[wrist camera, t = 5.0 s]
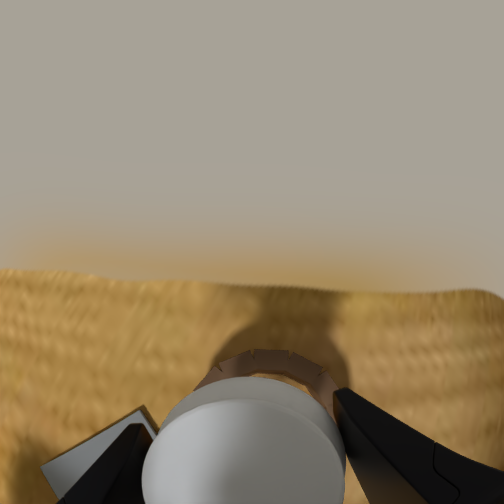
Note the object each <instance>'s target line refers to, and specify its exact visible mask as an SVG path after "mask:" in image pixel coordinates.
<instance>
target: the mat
mask: <svg viewBox="0 0 504 504" xmlns="http://www.w3.org/2000/svg"><path fill="white" fill-rule="evenodd" d="M130 423H143V424H144V425H145V426H146V428H147V430H148V432H149V434H150V435H151V437H152V439H153V441H154V439H155V438H156V436H157V433H156V432H155V430H154V429H153V427H152V426H151V424H150V423H149V421H148V420H147V418H146V417H145V415H144V414H143V412H142V410H138V411H137V412H135V413H134V414H132V415H130V416H129V417H127V418H125V419H124V420H122V421H121V422H119V423H117V424H116V425H114V426H112V427H111V428H109V429H107V430H105V431H104V432H102V433H100V434H99V435H97V436H95V437H93V438H92V439H90V440H88V441H87V442H85V443H83V444H81V445H79V446H78V447H76V448H74V449H72V450H71V451H69V452H67V453H65V454H63V455H61V456H60V457H58V458H56V459H54V460H52V461H50V462H48V463H47V464H45V465H43V466H41V467H40V468H41V470H42V472H43V474H44V475H45V477H46V479H47V481H48V482H49V484H50V486H51V488H52V489H53V491H54V493H55V494H56V496H57V497H58V499H59V500H60V499H61V498H62V497H64V495H65V493H66V492H67V491H68V490H69V489H70V488H71V487H72V486H73V485H74V484H75V483H76V482H77V481H78V479H79V478H80V477H81V476H82V475H83V474H84V473H85V472H86V471H87V470H88V469H89V468H90V466H91V465H92V464H93V463H94V462H95V461H96V460H97V459H98V458H99V457H100V455H101V454H102V453H103V452H104V451H105V450H106V449H107V448H108V447H109V446H110V444H111V443H112V442H113V441H114V440H115V439H116V438H117V437H118V436H119V435H120V433H121V432H122V431H123V430H124V429H125V428H126V427H127V426H128V425H129V424H130Z"/></svg>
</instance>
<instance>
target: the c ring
mask: <svg viewBox="0 0 504 504" xmlns="http://www.w3.org/2000/svg"><path fill="white" fill-rule="evenodd" d="M288 352H289V351H284V350H260V349H255V351H254V358H253V356H252V354H251V351H250V350H249V351H246V352H244V353H242V354H239V355H237V356H235V357H232V358H230V359H227V360H225V361H223V362H220V363H219V365H220V367H221V370H222V371H221V370H219V369H218V368H217V367H216V366H214V367H213V368H212V370H211V371H210V372H209V373H208V374H207V375H206V377H205V378H204V379H203V380H202V381H201V382H200V383H199V385H198V386H197V387H196V388H195V389H194V390H193V391H196V390H197V389H199V388H201V387H203V386H206V385H208V384H211V383H213V382H217V381H220V380H224V379H229V378H235V377H249V376H251V375H254V374H256V373H265V374H284V375H285V376H287V377H289V378H291V379H293V380H295V381H297V382H298V383H300V384H302V385H304V386H306V387H307V389H308V390H309V392H310V393H311V395H312V396H313V398H314V399H315V400H316V401H317V402H318V403H320V404H321V405H322V406H323V407H324V408H325V409H326V410H327V412H328V413H329V414H330V416H331V417H332V419H333V420H334V422H335V423H336V421H335V418H334V414H333V392H334V391H335V390H338V389H339V388H338V387H337V385H336V384H335V382H334V381H333V380H332V378H331V377H330V375H329V374H328V372H327V371H325V372H323V373H321V374H320V375H319V373H320V371H321V370H322V368H323V367H321V366H319V365H317V364H315V363H313V362H311V361H309V360H307V359H306V358H304V357H302V356H300V355H298V354H296V353H294V352H293V353H292V355H291V357H290V358H289V360H288ZM336 425H337V424H336Z"/></svg>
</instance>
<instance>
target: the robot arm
mask: <svg viewBox="0 0 504 504" xmlns="http://www.w3.org/2000/svg"><path fill="white" fill-rule="evenodd" d="M333 414H334V418H335V421H336V424H337V427H338V429H339V431H340V434H341V436H342V439H343V443H344V446H345V452H346V455H347V457H348V460H349V462H350V464H351V466H352V468H353V470H354V473H355V475H356V477H357V479H358V481H359V483H360V485H361V487H362V489H363V491H364V493H365V495H366V497H367V499H368V501H369V503H370V504H504V471H501V470H498V469H495V468H492V467H490V466H487V465H484V464H481V463H479V462H476V461H474V460H471V459H469V458H467V457H464V456H462V455H460V454H458V453H456V452H454V451H452V450H450V449H448V448H446V447H444V446H443V445H441V444H439V443H437V442H435V441H434V440H432V439H430V438H428V437H427V436H425V435H423V434H422V433H420V432H418V431H416V430H415V429H413V428H411V427H410V426H408V425H406V424H405V423H403V422H401V421H400V420H398V419H396V418H395V417H393V416H392V415H390V414H388V413H387V412H385V411H383V410H382V409H380V408H379V407H377V406H375V405H374V404H372V403H371V402H369V401H368V400H366V399H364V398H363V397H361V396H360V395H358V394H357V393H355V392H353V391H352V390H350V389H349V388H342V389H338V390H335V391H334V392H333ZM152 442H153V439H152V437H151V435H150V434H149V432H148V430H147V428H146V426H145V425H144V424H143V423H130V424H129V425H128V426H127V427H126V428H125V429H124V430H123V431H122V432H121V433H120V435H119V436H118V437H117V438H116V439H115V440H114V441H113V442H112V443H111V444H110V446H109V447H108V448H107V449H106V450H105V451H104V452H103V453H102V454H101V455H100V457H99V458H98V459H97V460H96V461H95V462H94V463H93V464H92V465H91V466H90V468H89V469H88V470H87V471H86V472H85V473H84V474H83V475H82V476H81V477H80V478H79V479H78V481H77V482H76V483H75V484H74V485H73V486H72V487H71V488H70V489H69V490H68V491H67V492H66V493H65V495H64V497H62V498H61V499H60V500H59V501H58V502H57V503H56V504H145V500H144V497H143V490H142V471H143V465H144V461H145V458H146V455H147V452H148V450H149V448H150V446H151V444H152Z"/></svg>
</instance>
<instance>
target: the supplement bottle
mask: <svg viewBox="0 0 504 504" xmlns="http://www.w3.org/2000/svg"><path fill="white" fill-rule="evenodd" d="M345 471H346V452H345V446H344V443H343V439H342V436H341V434H340V431H339V429H338V427H337V425H336V423H335V422H334V420H333V419H332V417H331V416H330V414H329V413H328V412H327V410H326V409H325V408H324V407H323V406H322V405H321V404H320V403H318V402H317V401H316V400H315V399H314V398H312V397H311V396H309V395H308V394H306V393H305V392H303V391H301V390H300V389H298V388H296V387H294V386H291V385H289V384H287V383H284V382H281V381H277V380H273V379H268V378H261V377H235V378H229V379H224V380H220V381H217V382H213V383H211V384H208V385H206V386H203V387H201V388H199V389H197V390H196V391H194V392H192V393H191V394H189V395H188V396H186V397H185V398H184V399H183V400H181V401H180V402H179V403H178V404H177V405H176V406H175V407H174V408H173V409H172V410H171V412H170V413H169V414H168V416H167V417H166V419H165V420H164V422H163V424H162V426H161V428H160V430H159V432H158V435H157V436H156V438H155V439H154V441H153V442H152V444H151V446H150V448H149V450H148V452H147V455H146V458H145V461H144V465H143V471H142V490H143V497H144V500H145V504H343V500H344V492H345V480H344V477H345Z"/></svg>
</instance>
